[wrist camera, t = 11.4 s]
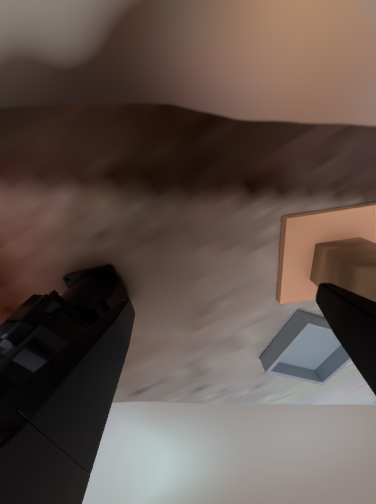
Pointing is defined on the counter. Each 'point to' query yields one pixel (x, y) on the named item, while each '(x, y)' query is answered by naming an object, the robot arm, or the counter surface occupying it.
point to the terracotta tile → (310, 233)
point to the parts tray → (305, 350)
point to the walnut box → (346, 265)
